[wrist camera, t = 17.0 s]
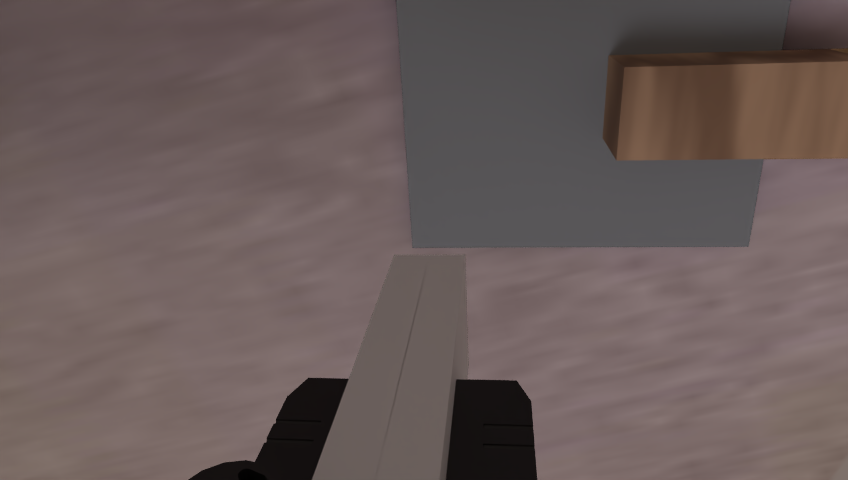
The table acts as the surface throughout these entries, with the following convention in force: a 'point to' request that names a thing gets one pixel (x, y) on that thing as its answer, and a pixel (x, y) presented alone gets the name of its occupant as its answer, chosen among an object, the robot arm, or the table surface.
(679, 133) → the post
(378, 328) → the robot arm
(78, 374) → the table surface
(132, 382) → the table surface
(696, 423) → the table surface
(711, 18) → the mat
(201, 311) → the table surface
